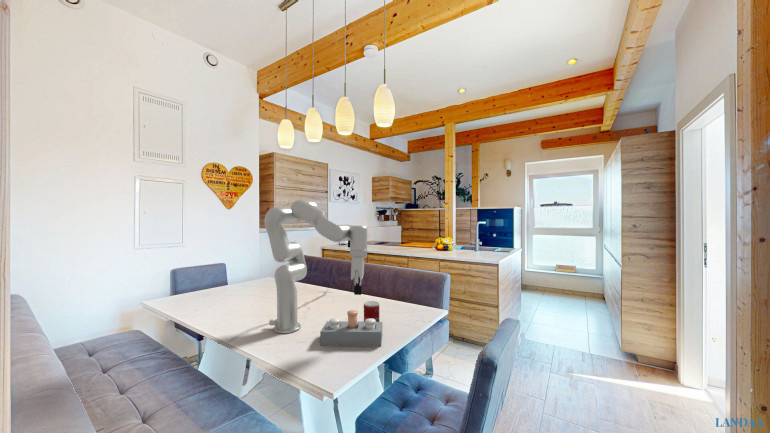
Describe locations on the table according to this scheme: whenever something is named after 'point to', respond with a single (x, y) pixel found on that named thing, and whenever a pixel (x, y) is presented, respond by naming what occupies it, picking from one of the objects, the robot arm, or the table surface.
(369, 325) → the grey plug
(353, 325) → the plug terracotta
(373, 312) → the canned food
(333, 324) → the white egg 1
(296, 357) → the table surface
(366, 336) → the socket board
